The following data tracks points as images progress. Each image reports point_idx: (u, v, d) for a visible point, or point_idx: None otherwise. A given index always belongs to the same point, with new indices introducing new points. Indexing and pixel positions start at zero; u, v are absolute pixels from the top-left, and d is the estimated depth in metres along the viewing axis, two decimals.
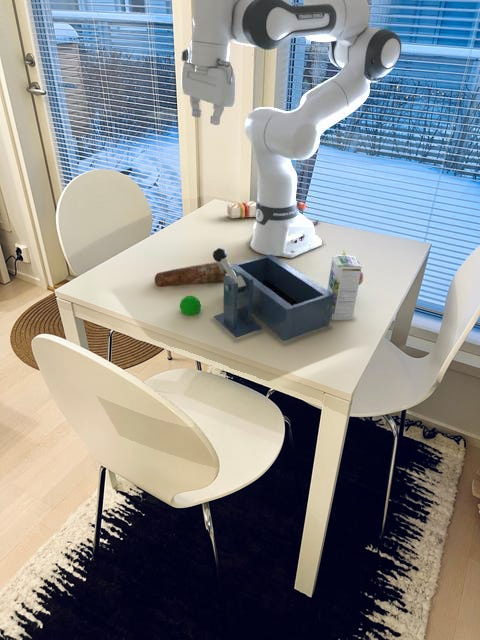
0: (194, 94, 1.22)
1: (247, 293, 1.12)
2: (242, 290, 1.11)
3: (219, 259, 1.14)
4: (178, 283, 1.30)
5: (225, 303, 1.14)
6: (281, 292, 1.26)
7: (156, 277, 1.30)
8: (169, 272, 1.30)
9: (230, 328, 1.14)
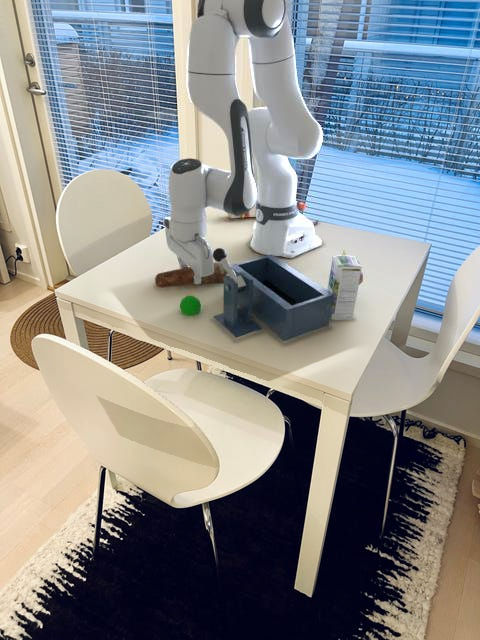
0: (178, 255, 1.31)
1: (247, 293, 1.12)
2: (242, 290, 1.11)
3: (219, 259, 1.14)
4: (179, 284, 1.30)
5: (225, 303, 1.14)
6: (281, 292, 1.26)
7: (156, 278, 1.30)
8: (169, 273, 1.30)
9: (230, 328, 1.14)
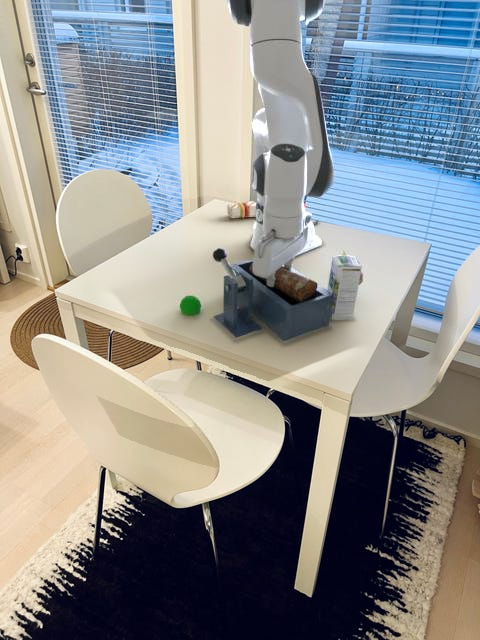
0: None
1: (247, 293, 1.12)
2: (242, 290, 1.11)
3: (219, 259, 1.14)
4: (262, 278, 1.19)
5: (225, 303, 1.14)
6: (281, 292, 1.26)
7: None
8: None
9: (230, 328, 1.14)
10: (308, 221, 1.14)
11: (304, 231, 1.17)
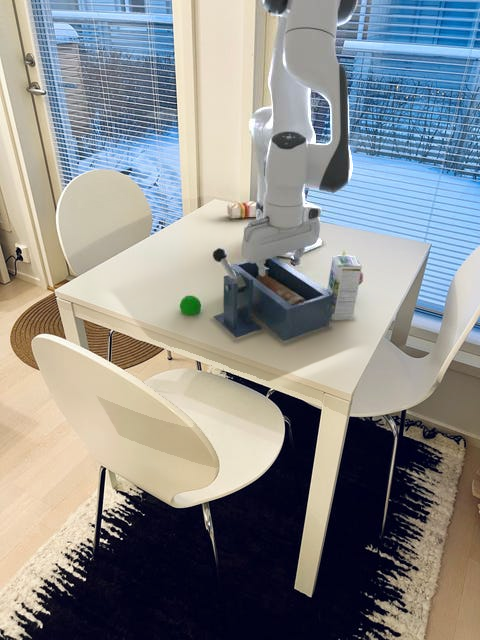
0: None
1: (247, 293, 1.12)
2: (242, 290, 1.11)
3: (219, 259, 1.14)
4: None
5: (225, 303, 1.14)
6: None
7: None
8: (265, 278, 1.24)
9: (230, 328, 1.14)
10: (314, 215, 1.11)
11: (313, 226, 1.14)
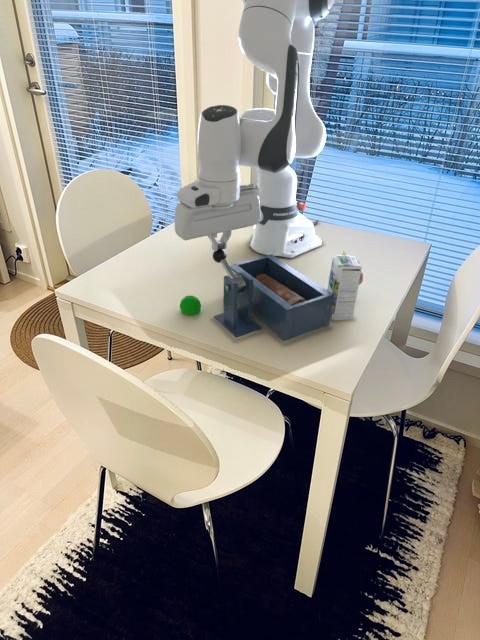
0: (211, 232, 1.09)
1: (247, 293, 1.12)
2: (242, 290, 1.11)
3: (219, 260, 1.14)
4: None
5: (225, 303, 1.14)
6: None
7: None
8: (265, 278, 1.24)
9: (230, 328, 1.14)
10: None
11: None
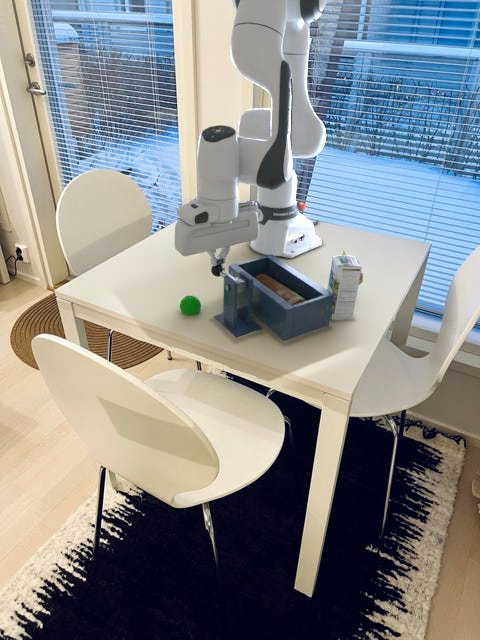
0: (210, 248, 1.11)
1: (247, 293, 1.12)
2: (243, 288, 1.11)
3: (217, 271, 1.16)
4: None
5: (225, 303, 1.14)
6: None
7: None
8: (265, 278, 1.24)
9: (230, 328, 1.14)
10: None
11: None
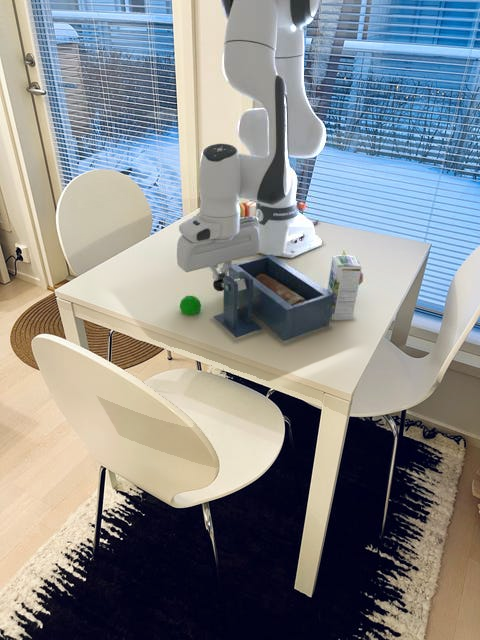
0: (212, 263, 1.13)
1: (247, 293, 1.12)
2: (243, 286, 1.10)
3: (219, 284, 1.18)
4: None
5: (225, 303, 1.14)
6: None
7: None
8: (265, 278, 1.24)
9: (230, 328, 1.14)
10: None
11: None
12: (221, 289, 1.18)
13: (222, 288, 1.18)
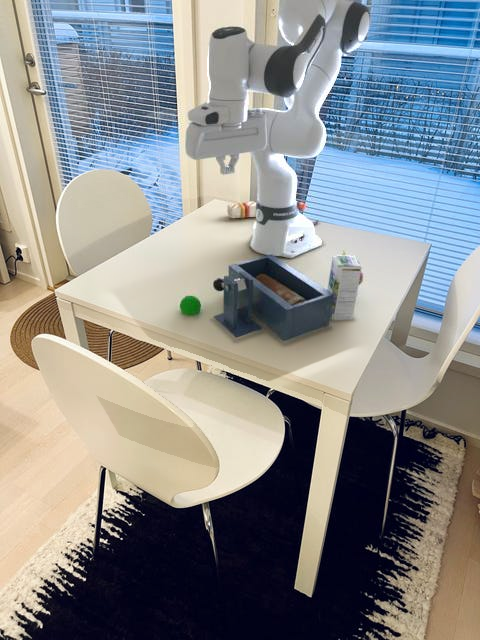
0: (220, 153, 1.14)
1: (247, 293, 1.12)
2: (243, 286, 1.10)
3: (219, 284, 1.18)
4: None
5: (225, 303, 1.14)
6: None
7: None
8: (265, 278, 1.24)
9: (230, 328, 1.14)
10: None
11: None
12: (221, 289, 1.18)
13: (222, 288, 1.18)
